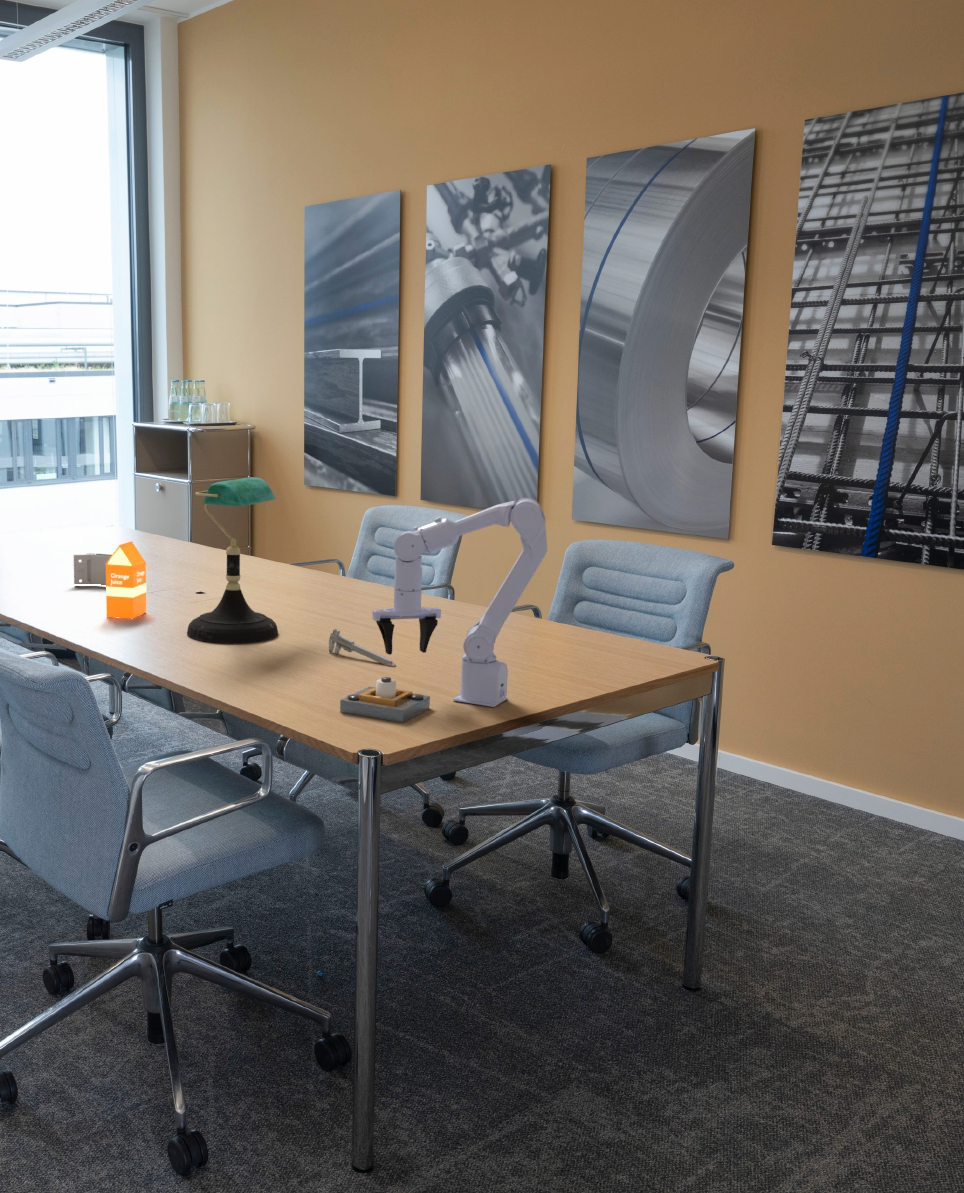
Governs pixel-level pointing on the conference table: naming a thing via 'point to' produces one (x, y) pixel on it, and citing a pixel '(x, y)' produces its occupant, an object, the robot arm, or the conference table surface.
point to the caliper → (354, 648)
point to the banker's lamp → (234, 574)
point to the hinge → (90, 568)
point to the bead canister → (386, 687)
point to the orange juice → (126, 582)
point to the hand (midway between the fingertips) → (405, 652)
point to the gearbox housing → (385, 705)
